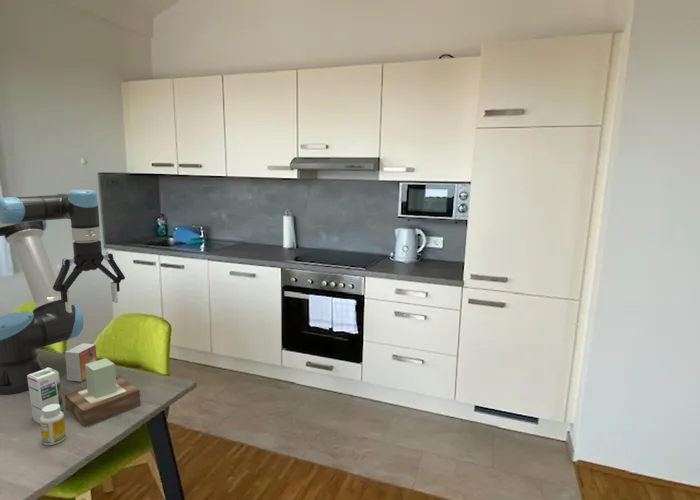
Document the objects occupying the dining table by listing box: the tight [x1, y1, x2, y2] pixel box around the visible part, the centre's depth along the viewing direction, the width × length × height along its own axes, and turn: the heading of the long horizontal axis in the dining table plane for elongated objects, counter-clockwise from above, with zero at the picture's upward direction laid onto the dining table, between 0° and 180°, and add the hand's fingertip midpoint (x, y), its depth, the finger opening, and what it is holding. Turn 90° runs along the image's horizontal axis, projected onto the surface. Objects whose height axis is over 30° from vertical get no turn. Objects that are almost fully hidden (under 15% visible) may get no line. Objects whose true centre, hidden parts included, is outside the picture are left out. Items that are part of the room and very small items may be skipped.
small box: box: [64, 342, 98, 383], centre depth 158 cm, size 8×6×10 cm
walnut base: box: [64, 375, 141, 428], centre depth 139 cm, size 14×16×5 cm
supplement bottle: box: [39, 404, 67, 446], centre depth 123 cm, size 5×5×10 cm
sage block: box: [85, 357, 117, 399], centre depth 138 cm, size 6×6×9 cm
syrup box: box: [27, 367, 65, 425], centre depth 132 cm, size 6×6×14 cm
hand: (92, 306), depth 145 cm, fingers open, 13 cm apart
